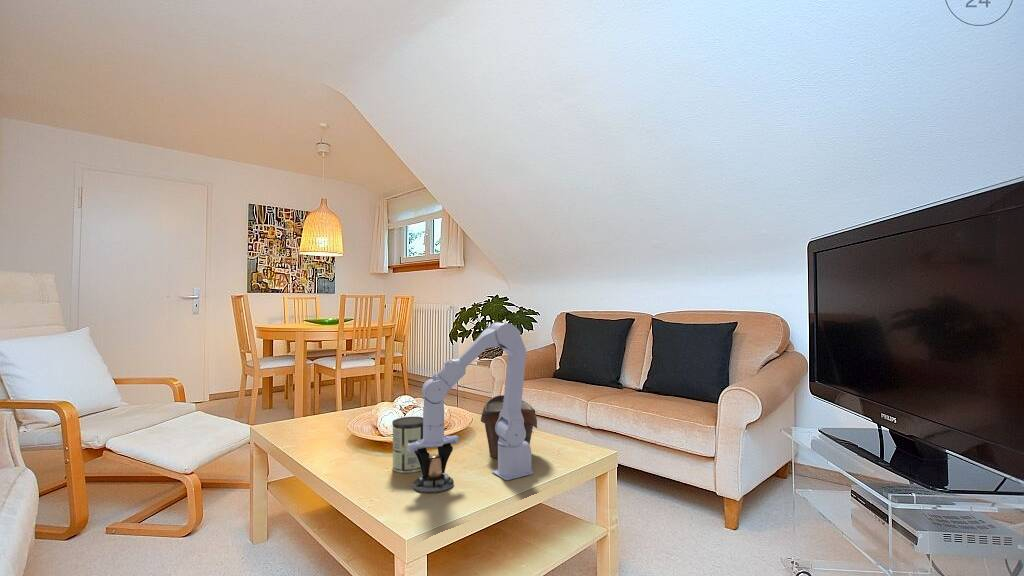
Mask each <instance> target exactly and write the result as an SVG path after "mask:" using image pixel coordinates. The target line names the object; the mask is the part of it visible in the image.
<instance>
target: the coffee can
mask: <svg viewBox="0 0 1024 576" xmlns="http://www.w3.org/2000/svg"><path fill="white" fill-rule="evenodd" d="M391 423H392V471H394V472H395V473H401V474H412V473H418V472H422V470H421V466H420V463H419V460H418V458H417V456H416V454H415V452H414V451H413V452H412V453H410V452H408V451H407V444H409V443H413V442H416V441H419V440H422V439H423V416H404V417H399V418H396V419H393V420H392V422H391Z"/></svg>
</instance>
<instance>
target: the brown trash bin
mask: <svg viewBox="0 0 1024 576" xmlns="http://www.w3.org/2000/svg"><path fill="white" fill-rule="evenodd" d="M503 403H504V394H500V395H496V396H493V397H492V398H490V399H489V400H487V402H485V404H484V406H483V409H482V413H481V417H480V422H481V423H482V424H484V428H485V434H486V440H487V445H488V452H489V456H490V457H492V458H494V459H498V440H499V436H498V435H497V433H496V431H495V426H496V423H497V421H498V419H499V414H500V412H501V410H502V409H503ZM521 413H522V415H523V418H524V428H525V430H526V437H525V439H524V441H527V442H528V443H529V445H530V446H531V439H532V433H535V432H534V431H533V430H534V428H536V429H538V419H537V415H536V410H535V409H534V408H533V407H532V406H531V405H530V404H529V403H528V402H526V401H524V400H523V399H522V404H521Z"/></svg>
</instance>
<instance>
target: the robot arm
mask: <svg viewBox="0 0 1024 576" xmlns="http://www.w3.org/2000/svg"><path fill="white" fill-rule="evenodd" d="M497 347H500V348H501V349H502V351H504V352H505V353H506V355H507V362H506V372H505V382H504V383H505V385H504V393H503V395H504V403H503V409H502V410H501V412H500V414H499V419H498V421H497V423H496V426H495V431H496V433H497V435H498V436H499V440H498V458H497V469H494V470H491V472H492V474H494V475H496V476H497V477H500V478H501V479H503V480H505V481H510V480H511V481H512V480H514V479H515V480H516V479H518V478H521V477H525V476H530V475H532V474H533V473H534V472H533V471H532V448H531V444H530V445H529V443H528V442H527V441H524V439H525V437H526V430H525V428H524V418H523V415H522V413H521V404H522V400H523V393H524V392H523V390H524V380H525V370H526V369H525V368H526V358H527V357H526V356H527V348H526V346H525V344H524V341H523V339H522V336H521V331H520V330H519V328H518V327H516V326H515V325H514V324H512V323H509V322H507V323H506V322H500V321H495V322H493V323H491V324H490V325H489V326H488V327H487V328H485V329H484V330H483V331H482V332H481V333H480V334H479V336H478V337H477V338H476V339H475V340H474V341H473V342H472V343H471V344H470V345H469V346H468V347H467V348H466V350H464V352H463V353H461V355H460V356H459V357H458V358H453V359H452V358H451V359H450V360H449V361H448V360H446V361H444V363H443V366H442V367H441V369H440V370H439V371H437V373H436V374H435V373H433V374H432V375H431V378H430V379H428V380H426V381H425V382H424V383H423V384H422V387H421V389H420V393H421V395H422V396H423V407H422V412H423V413H422V417H423V439H422V440H419V441H416V442H413V443H409V444H407V451H408V452H410V453H412V452H413V451H414V452H415V454H416V456H417V458H418V460H419V463H420V466H421V474H422V475H423V476H424V477H428V460H429V455H431V454H430V452H428V450H427V449H433V448H437V454H439V455H442V473H444V472H445V473H446V467H447V465H448V460H449V458H450V456H451V454H452V452H453V451H454V448H453V447H454V446H452V445H458V444H459V443H460V442H459V439H460V437H459V436H458V435H456V434H455V435H446V436H445V406H444V405H445V399H446V398H447V395H448V391H450V390H451V389H452V388H453V387H454V385H456V384H457V383H458V382H459V381H461V379H462V378H463V377H465V375H466V370H467V367H468V366H469V365H470V364H471V363H472V362H474V361H475V359H477V358H478V357H479V356H481V354H482V353H483V352H485V351H486V349H490V348H497Z"/></svg>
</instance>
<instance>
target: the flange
mask: <svg viewBox="0 0 1024 576" xmlns="http://www.w3.org/2000/svg"><path fill="white" fill-rule="evenodd" d="M454 485H455V484H454V479H453V478H452V477H451V476H449V473H446V471H445V472H444V473H442V479H439V480H434V481H433V480H426V477H424V476H423V475H422V473H421V474H420V475H419V476H418V477H417V478H416V479H415V480H414V481H412V488H413V490H414V491H416V492H418V493H422V494H438V493H442V492H447V491H449V490H450V489H452V488H453V487H454Z"/></svg>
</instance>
